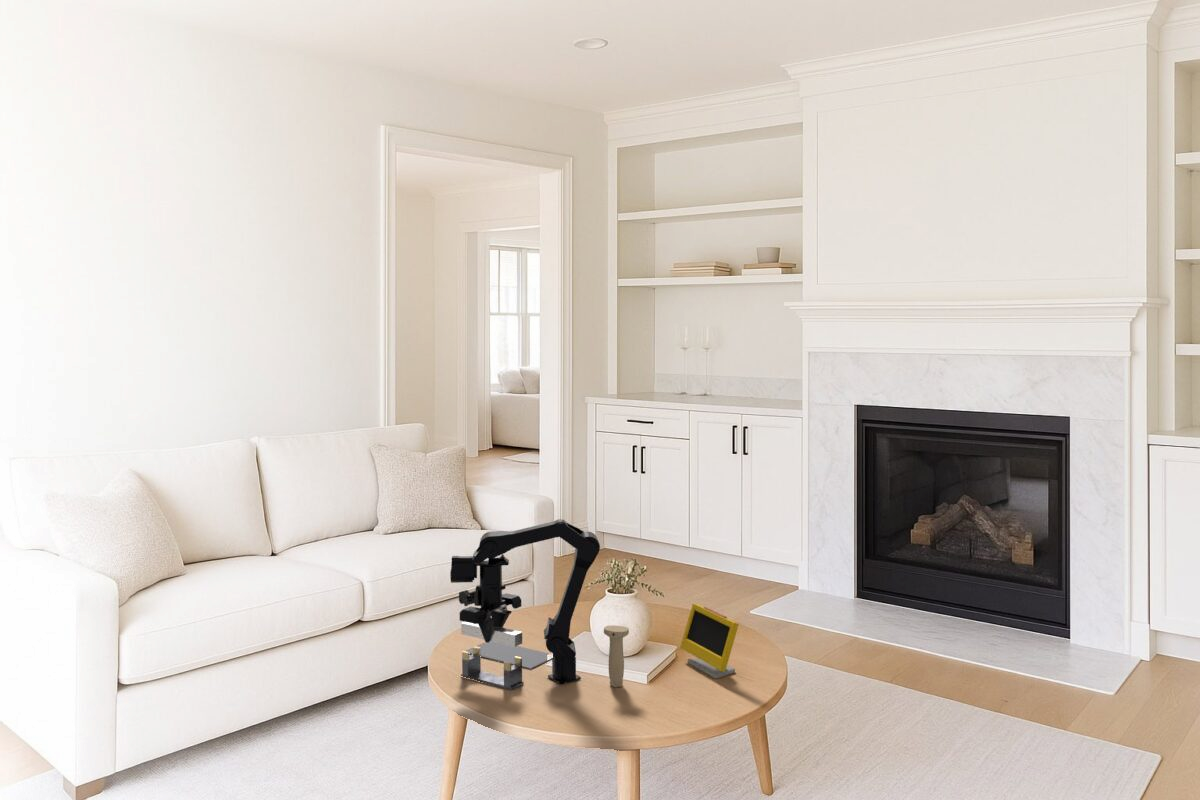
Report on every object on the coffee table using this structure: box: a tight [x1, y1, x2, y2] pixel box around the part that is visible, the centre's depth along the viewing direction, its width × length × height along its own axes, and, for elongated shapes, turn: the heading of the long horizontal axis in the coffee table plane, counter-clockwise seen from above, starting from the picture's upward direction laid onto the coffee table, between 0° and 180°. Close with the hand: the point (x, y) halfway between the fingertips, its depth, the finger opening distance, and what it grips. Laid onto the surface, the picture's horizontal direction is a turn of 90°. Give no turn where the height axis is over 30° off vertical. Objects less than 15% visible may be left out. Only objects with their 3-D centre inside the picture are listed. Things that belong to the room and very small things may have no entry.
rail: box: [460, 621, 523, 647], centre depth 246 cm, size 18×3×3 cm, turn 57°
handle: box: [603, 624, 630, 688], centre depth 243 cm, size 5×6×15 cm
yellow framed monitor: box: [680, 602, 739, 680], centre depth 255 cm, size 20×8×16 cm, turn 27°
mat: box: [464, 641, 549, 671], centre depth 267 cm, size 24×12×1 cm, turn 57°
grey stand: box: [460, 646, 525, 692], centre depth 247 cm, size 17×5×7 cm, turn 57°
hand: (491, 640), depth 246 cm, fingers closed on rail, 3 cm apart
